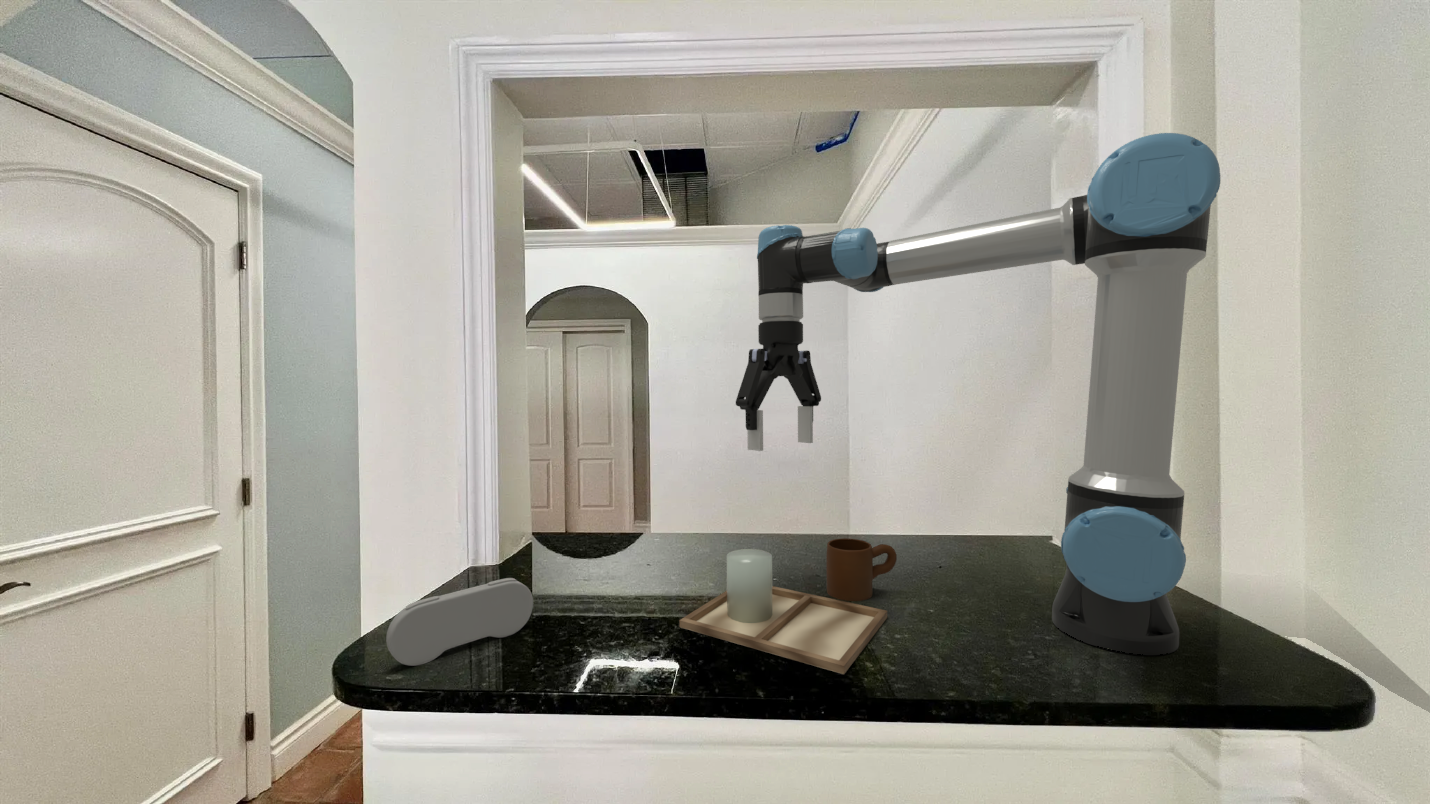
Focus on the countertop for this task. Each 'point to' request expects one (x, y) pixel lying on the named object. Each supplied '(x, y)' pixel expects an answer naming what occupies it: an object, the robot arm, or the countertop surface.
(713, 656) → the countertop surface
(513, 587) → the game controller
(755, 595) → the pillar candle
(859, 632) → the organizer
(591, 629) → the countertop surface
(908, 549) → the countertop surface
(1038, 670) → the countertop surface
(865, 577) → the mug
